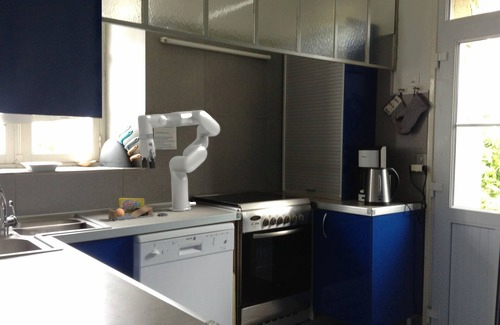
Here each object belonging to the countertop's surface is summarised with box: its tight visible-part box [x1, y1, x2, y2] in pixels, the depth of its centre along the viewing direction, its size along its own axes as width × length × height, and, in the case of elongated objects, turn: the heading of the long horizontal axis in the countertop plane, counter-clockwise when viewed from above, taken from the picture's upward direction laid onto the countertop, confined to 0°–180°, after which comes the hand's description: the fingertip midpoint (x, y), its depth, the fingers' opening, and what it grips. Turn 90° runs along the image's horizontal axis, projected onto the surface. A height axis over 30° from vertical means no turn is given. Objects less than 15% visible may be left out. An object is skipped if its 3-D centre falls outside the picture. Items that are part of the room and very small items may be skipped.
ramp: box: [107, 204, 154, 221], centre depth 251 cm, size 22×9×5 cm, turn 126°
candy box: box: [118, 197, 146, 213], centre depth 270 cm, size 16×2×8 cm, turn 71°
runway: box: [108, 212, 155, 222], centre depth 252 cm, size 22×9×2 cm, turn 126°
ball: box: [115, 207, 125, 217], centre depth 248 cm, size 5×5×5 cm
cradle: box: [157, 212, 168, 217], centre depth 256 cm, size 3×5×1 cm, turn 36°
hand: (148, 168), depth 260 cm, fingers open, 9 cm apart
